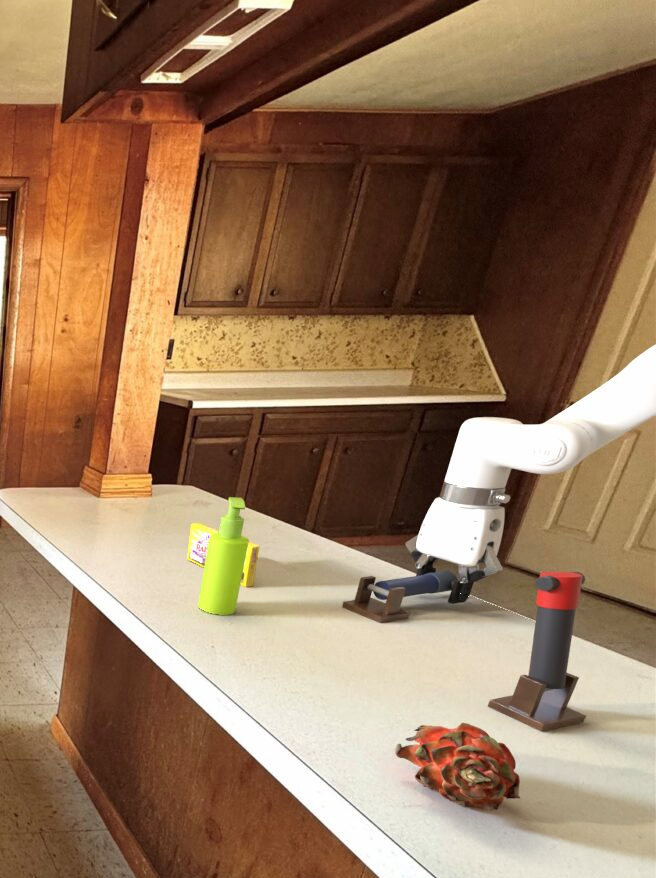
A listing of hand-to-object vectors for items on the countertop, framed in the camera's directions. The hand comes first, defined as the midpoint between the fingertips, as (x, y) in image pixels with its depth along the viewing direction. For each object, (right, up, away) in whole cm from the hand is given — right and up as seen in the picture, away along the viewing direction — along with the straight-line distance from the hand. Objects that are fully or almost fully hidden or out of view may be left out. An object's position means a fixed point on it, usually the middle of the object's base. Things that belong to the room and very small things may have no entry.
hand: (438, 595), depth 115 cm
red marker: (-17, -4, -33) cm, 37 cm away
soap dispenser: (-38, -3, +1) cm, 39 cm away
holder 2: (-16, -15, -32) cm, 38 cm away
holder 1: (-13, -3, -2) cm, 14 cm away
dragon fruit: (-38, -21, -44) cm, 62 cm away
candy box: (-29, +4, +17) cm, 34 cm away
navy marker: (-6, 0, -2) cm, 7 cm away
